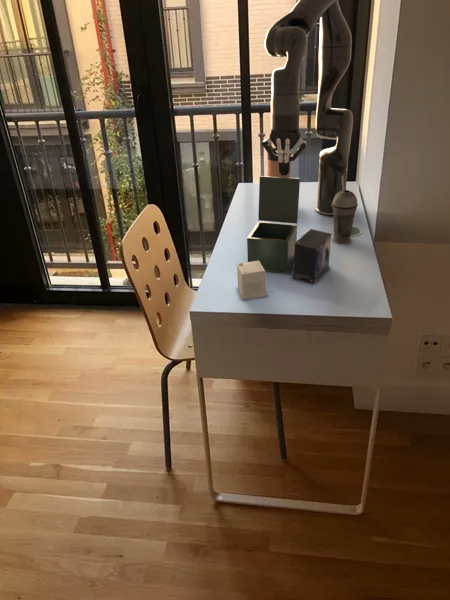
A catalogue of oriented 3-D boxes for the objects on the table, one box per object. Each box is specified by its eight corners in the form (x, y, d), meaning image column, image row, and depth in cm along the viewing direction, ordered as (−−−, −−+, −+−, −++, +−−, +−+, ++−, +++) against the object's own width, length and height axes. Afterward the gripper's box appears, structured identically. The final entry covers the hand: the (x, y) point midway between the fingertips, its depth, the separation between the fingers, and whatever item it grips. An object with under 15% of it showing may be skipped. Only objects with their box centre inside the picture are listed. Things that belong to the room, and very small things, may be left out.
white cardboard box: (266, 296, 128) (266, 270, 124) (242, 300, 127) (241, 274, 123) (259, 285, 133) (259, 260, 129) (237, 288, 132) (236, 263, 128)
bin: (287, 273, 138) (287, 241, 133) (247, 268, 141) (246, 238, 136) (296, 254, 147) (297, 224, 142) (259, 250, 150) (258, 221, 145)
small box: (314, 284, 132) (316, 248, 126) (292, 279, 135) (292, 243, 129) (330, 267, 139) (332, 232, 134) (308, 262, 142) (309, 228, 137)
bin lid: (299, 178, 137) (300, 178, 137) (259, 176, 140) (260, 176, 141) (296, 223, 142) (297, 223, 142) (258, 220, 145) (258, 220, 145)
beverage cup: (354, 246, 149) (360, 180, 139) (329, 245, 151) (333, 179, 140) (354, 235, 156) (360, 171, 145) (330, 234, 157) (334, 171, 146)
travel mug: (293, 205, 179) (294, 148, 169) (283, 213, 174) (283, 154, 163) (273, 202, 183) (273, 146, 172) (263, 209, 177) (263, 152, 167)
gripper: (312, 108, 136) (309, 172, 145) (264, 107, 140) (265, 169, 149) (307, 114, 130) (304, 180, 139) (257, 113, 134) (258, 177, 143)
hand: (284, 174), depth 144 cm, fingers closed
